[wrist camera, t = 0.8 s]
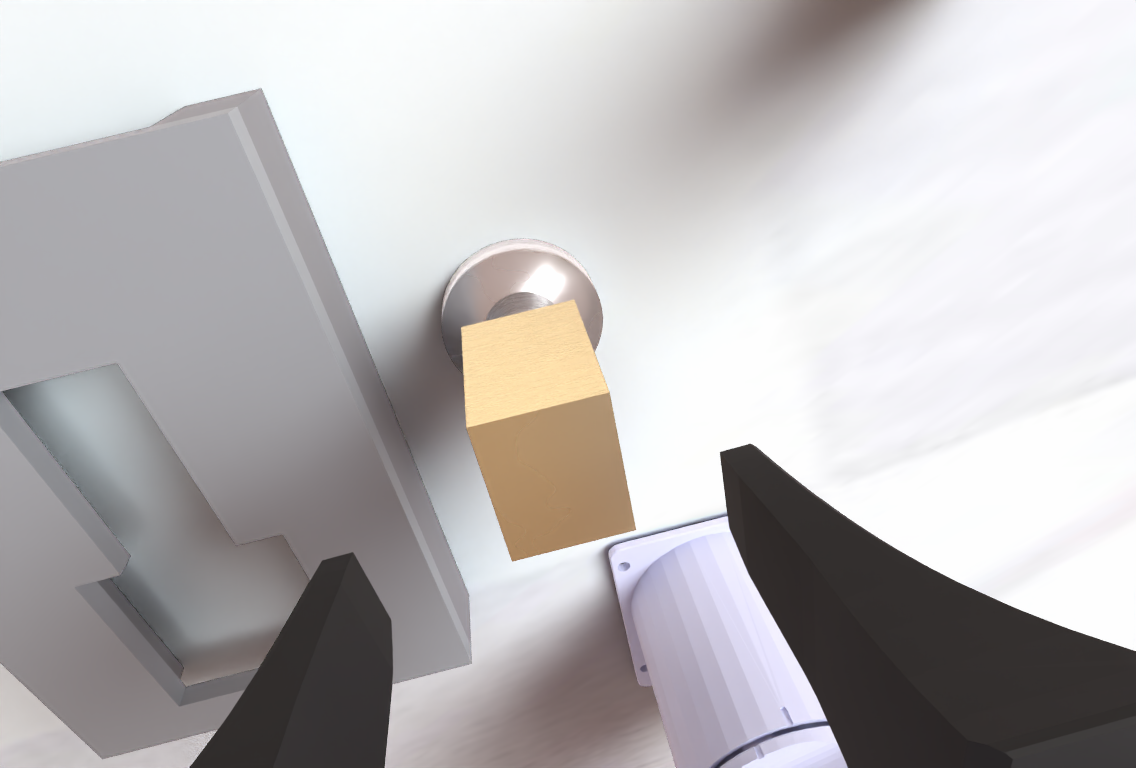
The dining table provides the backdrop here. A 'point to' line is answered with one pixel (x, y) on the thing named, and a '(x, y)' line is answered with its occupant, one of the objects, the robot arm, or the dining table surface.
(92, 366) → the keyhole board
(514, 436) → the keyhole peg
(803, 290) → the dining table surface
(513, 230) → the dining table surface
